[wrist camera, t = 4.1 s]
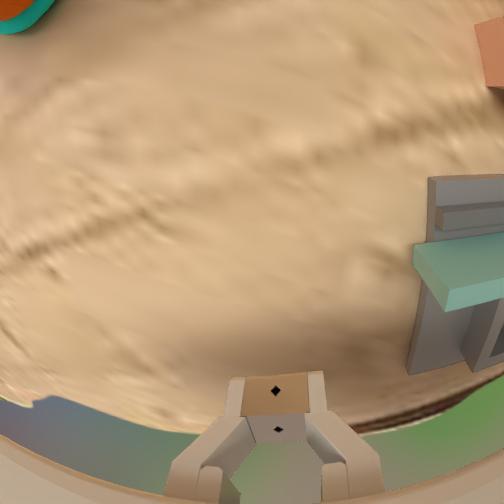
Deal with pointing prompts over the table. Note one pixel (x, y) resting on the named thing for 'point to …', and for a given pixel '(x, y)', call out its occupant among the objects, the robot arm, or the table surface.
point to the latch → (462, 269)
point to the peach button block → (492, 50)
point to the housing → (469, 318)
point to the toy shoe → (21, 14)
